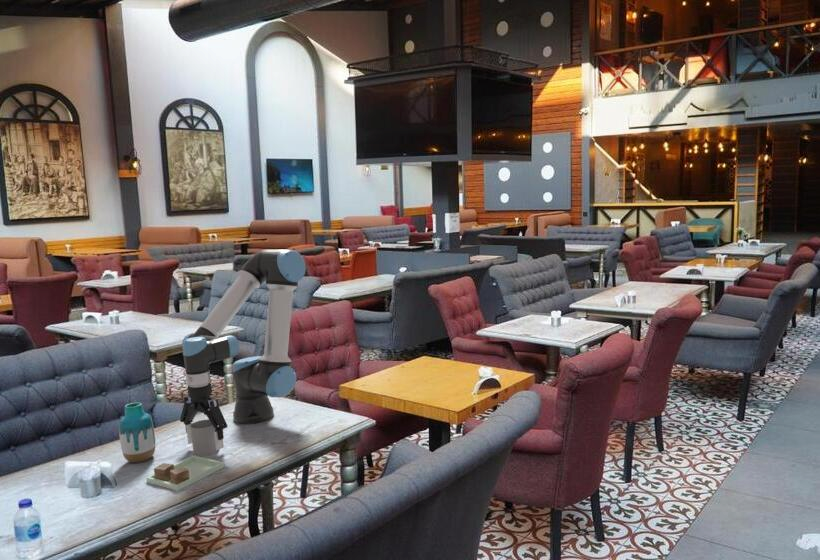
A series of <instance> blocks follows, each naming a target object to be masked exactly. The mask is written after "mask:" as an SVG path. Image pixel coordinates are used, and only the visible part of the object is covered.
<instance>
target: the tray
mask: <svg viewBox="0 0 820 560" xmlns="http://www.w3.org/2000/svg"><path fill="white" fill-rule="evenodd" d="M182 466H183V467H185V468H186V469H188V470H189V479H188V480H186V481H184V482H182V483H180V484H178V485H177V484H173V483H171V480H169V481H167V482H166V481H162V480H159V479H155V473H153V474H151V475H149V476H147V477H145V479H146V480H145V481H146V483H148V484H152V485H155V486H159V487H163V488H166V489H170V490H173V491H176V492H178V491H180V490H182V489H185V488H186V487H189V486H190V485H192V484H194V483H195V482H198V481H200V480H202V479H203V478H205V477H207V476H210V475H211V474H213V473H215V472H217V471H219V470H221V469H222V468H225V462H224V461H219V460H216V459H211V458H208V457H207V458H206V457H204V456H202V457H201V456H198V455H195V454H193V455H191V456H190V457H187V458H185V459H183V460H181V461H179V462H177V463H175V464H174V469H176V468H179V467H182Z"/></svg>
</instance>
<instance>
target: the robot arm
mask: <svg viewBox="0 0 820 560" xmlns="http://www.w3.org/2000/svg"><path fill="white" fill-rule="evenodd" d="M305 262H306V261H305V259H304V257H303V256H302V254H301V253H299V252H298V251H296V250H292V249H288V248H287V249H286V248H285V249H282V248H281V249H267V248H266V249H262V250H260V251H258V252H256V253H255V254H254V255H252V256H251V257H250V258H249V259H248V260H247V261H246V262H245V263H244V264H243V265H242V267H241V268H240V270H238V272H237V277H236V279H235V280H234V282H233V283H232V284H231V285H230V286H229V288H228V289H227V291H225V293H224V294H223V296H222V297H221V298H220V300H219V301H218V302H217V303H216V305H215V306H214V308H212V310H211V311H210V313H209V314H208V315H207V316H206V318H205V319H204V320H203V321H202V323H201V325H199V327H198V328H197V329H196V331H195V332H191V333H188V334H187V335H185V336H184V338H183V340H182V342H181V344H182V356H183V362H184V370H185V377H186V385H187V387H186V388H187V396H184V398H183V407H182V410H181V415H180V418H179V421H180V422H181V423H183V424H184V426H185V433H186V434H187V435H186V437H187V438H186V439H187V444H188V445H191V444H192V436H191V427H190V426H191V424H193V423H194V419H195V418H196V415H197V413H199V412H200V413H202V414H203V415H205V416H206V417H207V420H208V419H209V420H210V422H211V423H212V425H213V426H214V428H215V429H216V430H215V431H214V436H215V445H216V450H218V451H220V450H221V449H223V448H225V445H224V429H227V428H228V424H227V422H226V419H225V417H224V415H223V411H222V410H221V408H220V405H219V400H218V399H213V400H212V399H211V395H212V393H213V391H212V384H211V382H212V381H211V372H210V364H212V363H216V362H219V361H223V360H227V359H229V360H230V359H231V358H233V357H235V356H237V355H238V354H239V351H240V343H239V340H238V338H236V336H234V335H232V334H231V335H224V336H221V334H222V333H223V332H224V330H225V329H226V328H227V327H228V325H229V324H230V322H231V321H232V319H234V317H235V316H236V314H237V313H238V312H239V310H240V309H241V308H242V307H243V305H244V304H245V302H246V301H247V300H248V298H249V297H250V296H251V295H252V293H253V292H254V290H255V289H259V288H260V287H261V286H262V285H263V284H264V283H265V286H266V287H267V288H268V290H269V291H268V305H267V316H266V326H265V327H266V328H265V336H264V337H265V338H264V350H263V354H262V355H258V356H257V355H256V356H251V357H245V358H241V359H238V360H236V361H234V363H233V364H232V375H233V383H234V392H235V404H234V405H235V406H234V411H233V414H232V417H233V419H232V420H233V421H234V422H235V423H237V424H243V425H245V424H247V425H249V424H256V423H261V422H262V423H263V422H265V421H267V420H269V419H271V418H272V417H273V416H274V414H275V413H274V407H273V406H272V402H271V401H270V399H269V397H271V398H284V397H287V396H288V395H289V394H290V392H293V389H294V388H295V387H296V382H297V373H296V372H295V370H294V368H292V360H291V358H290V357H289V356H288V355H289V354H288V353H289V344H290V334H291V333H290V332H291V331H290V329H291V319H292V308H293V307H292V306H293V297H294V295H293V294H294V291H295V290H296V289H297V288H298V285H299V282H300V281H302V280H303V277H304V276H305V274H306V269H307V268H306V267H307V266H306V263H305ZM219 449H220V450H219Z"/></svg>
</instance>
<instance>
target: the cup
mask: <svg viewBox="0 0 820 560" xmlns="http://www.w3.org/2000/svg"><path fill="white" fill-rule="evenodd" d="M192 423H193V424H191V426H190V427H191V436H192V443H191V444H192V452H193V455H194V456H198V457H201V456H202V457H204V456H209V455H213V454H215V453H217V452H218V451H220V450H221V449H219V450H216V445H215V436H214V431H215V430H216V429H215V428H214V426H213V425H212V423H211V422H210V420H209V419H208V418H207V419H202V420H201V419H200V420H198V421H193V422H192Z"/></svg>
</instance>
